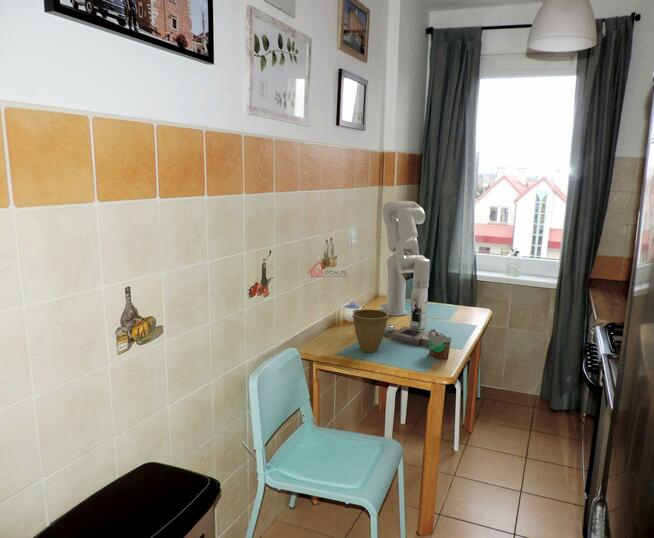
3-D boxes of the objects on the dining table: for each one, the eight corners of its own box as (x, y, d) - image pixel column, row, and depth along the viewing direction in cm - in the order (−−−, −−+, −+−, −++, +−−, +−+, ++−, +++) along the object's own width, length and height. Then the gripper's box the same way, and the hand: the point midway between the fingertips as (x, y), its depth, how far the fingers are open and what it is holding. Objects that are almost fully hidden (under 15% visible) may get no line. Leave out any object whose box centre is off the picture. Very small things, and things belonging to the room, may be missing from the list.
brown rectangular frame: (390, 339, 236) (391, 331, 235) (404, 332, 247) (404, 324, 246) (433, 349, 224) (433, 340, 224) (445, 341, 235) (446, 333, 235)
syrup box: (409, 328, 253) (411, 299, 250) (416, 325, 257) (417, 297, 254) (419, 330, 249) (421, 301, 246) (425, 328, 254) (427, 299, 251)
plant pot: (393, 350, 223) (395, 314, 220) (370, 358, 213) (372, 320, 210) (367, 341, 233) (369, 306, 230) (344, 348, 223) (345, 312, 220)
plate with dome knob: (377, 336, 240) (377, 328, 239) (390, 329, 251) (391, 321, 250) (417, 346, 229) (418, 337, 228) (430, 338, 239) (431, 329, 239)
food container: (420, 352, 221) (421, 330, 219) (432, 350, 223) (434, 328, 221) (437, 362, 210) (439, 339, 208) (450, 360, 212) (451, 337, 210)
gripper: (421, 279, 258) (418, 314, 261) (405, 286, 244) (403, 322, 248) (435, 282, 253) (432, 317, 257) (419, 288, 240) (417, 325, 243)
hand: (418, 319), depth 252 cm, fingers closed on syrup box, 6 cm apart
